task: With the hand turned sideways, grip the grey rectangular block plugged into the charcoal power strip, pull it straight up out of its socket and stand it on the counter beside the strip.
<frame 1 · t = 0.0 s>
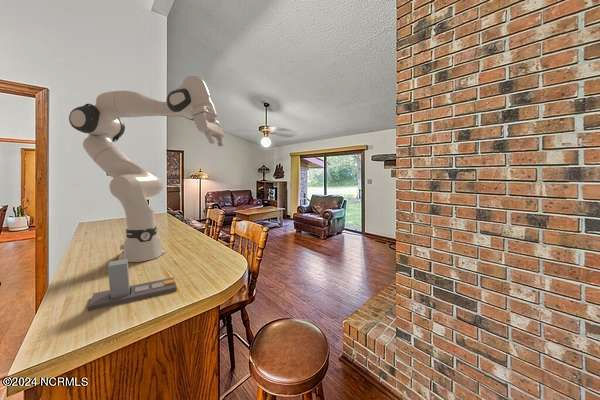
hand: (216, 144, 107), 52 cm above the worktop, tool tilted 20°, fingers open, 8 cm apart
grey rectangular block: (120, 297, 74), point 1 cm above the worktop, touching power strip
power strip: (136, 296, 77), on the worktop
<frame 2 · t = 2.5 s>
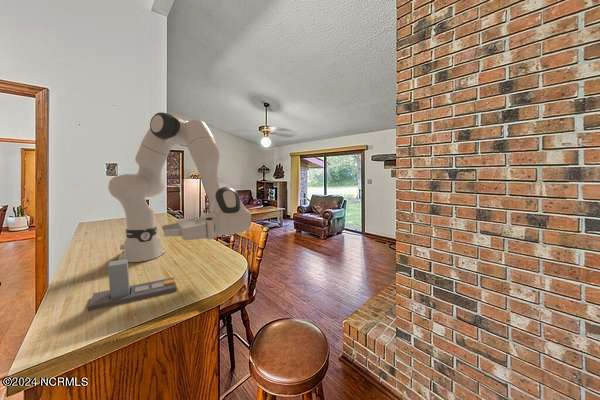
hand: (163, 230, 79), 20 cm above the worktop, tool horizontal, fingers open, 8 cm apart
nothing on the worktop moved.
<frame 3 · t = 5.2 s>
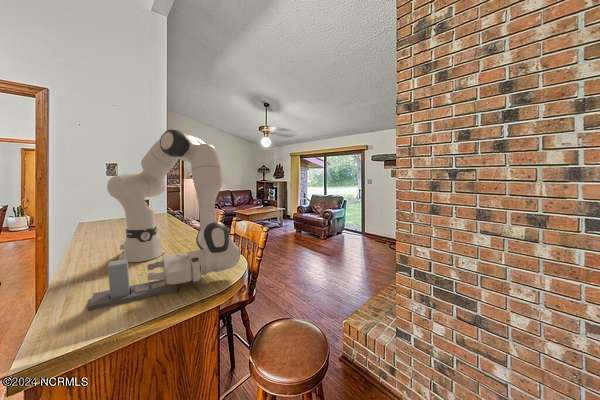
hand: (147, 271, 78), 7 cm above the worktop, tool horizontal, fingers open, 8 cm apart
nothing on the worktop moved.
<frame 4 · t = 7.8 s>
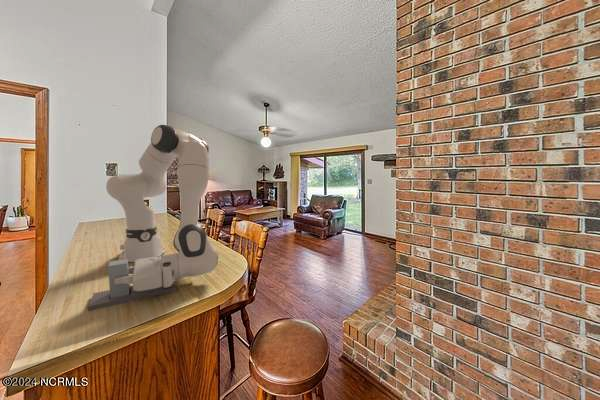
hand: (115, 277, 73), 8 cm above the worktop, tool horizontal, fingers closed on grey rectangular block, 4 cm apart
grey rectangular block: (120, 297, 74), point 1 cm above the worktop, touching gripper, power strip
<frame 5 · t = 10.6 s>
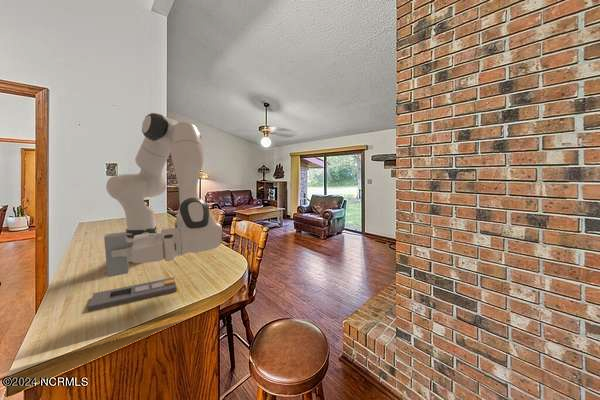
hand: (112, 250, 67), 17 cm above the worktop, tool horizontal, fingers closed on grey rectangular block, 4 cm apart
grey rectangular block: (119, 272, 68), point 11 cm above the worktop, touching gripper
when the fingers open (8 cm above the worktop, at t = 13.9 s): grey rectangular block drops 1 cm, on the worktop.
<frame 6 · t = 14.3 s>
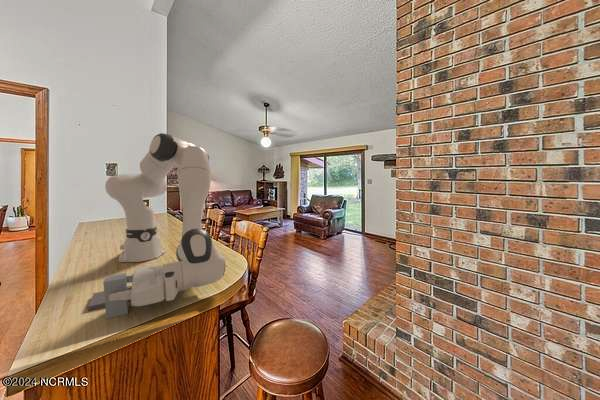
hand: (111, 289, 65), 8 cm above the worktop, tool horizontal, fingers open, 8 cm apart
grey rectangular block: (118, 315, 66), on the worktop
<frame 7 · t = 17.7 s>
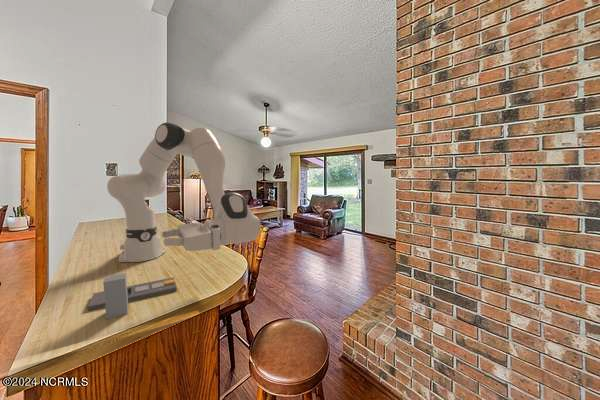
hand: (163, 238, 70), 20 cm above the worktop, tool horizontal, fingers open, 8 cm apart
nothing on the worktop moved.
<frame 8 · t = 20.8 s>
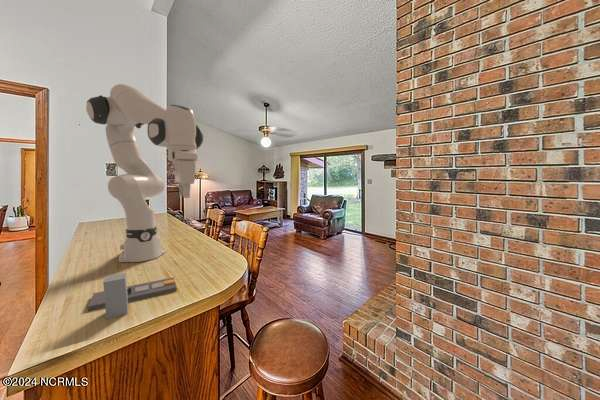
hand: (184, 196, 82), 31 cm above the worktop, tool pointing down, fingers open, 8 cm apart
nothing on the worktop moved.
at the end: grey rectangular block inside the target area (0.2 cm from its centre), on the worktop; grey rectangular block tilted 0°; the gripper is holding nothing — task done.
